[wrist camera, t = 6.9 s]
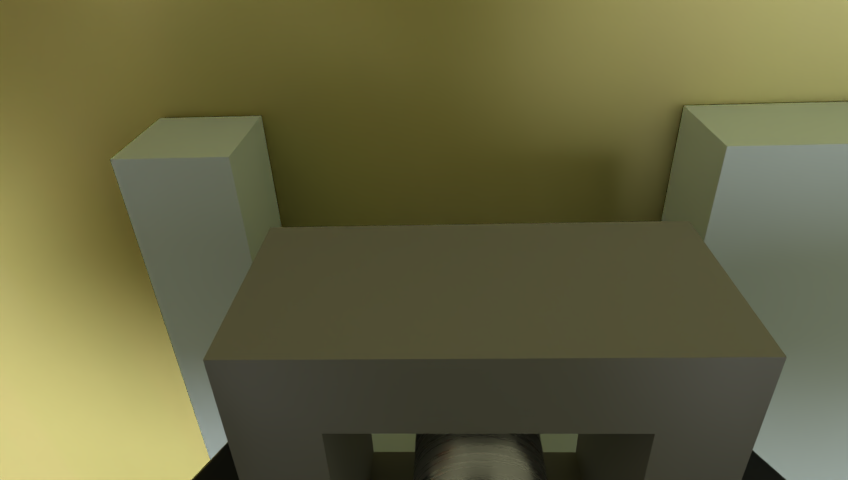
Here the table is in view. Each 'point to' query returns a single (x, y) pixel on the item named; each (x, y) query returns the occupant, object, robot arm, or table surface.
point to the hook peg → (479, 457)
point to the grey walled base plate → (685, 201)
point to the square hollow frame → (492, 349)
